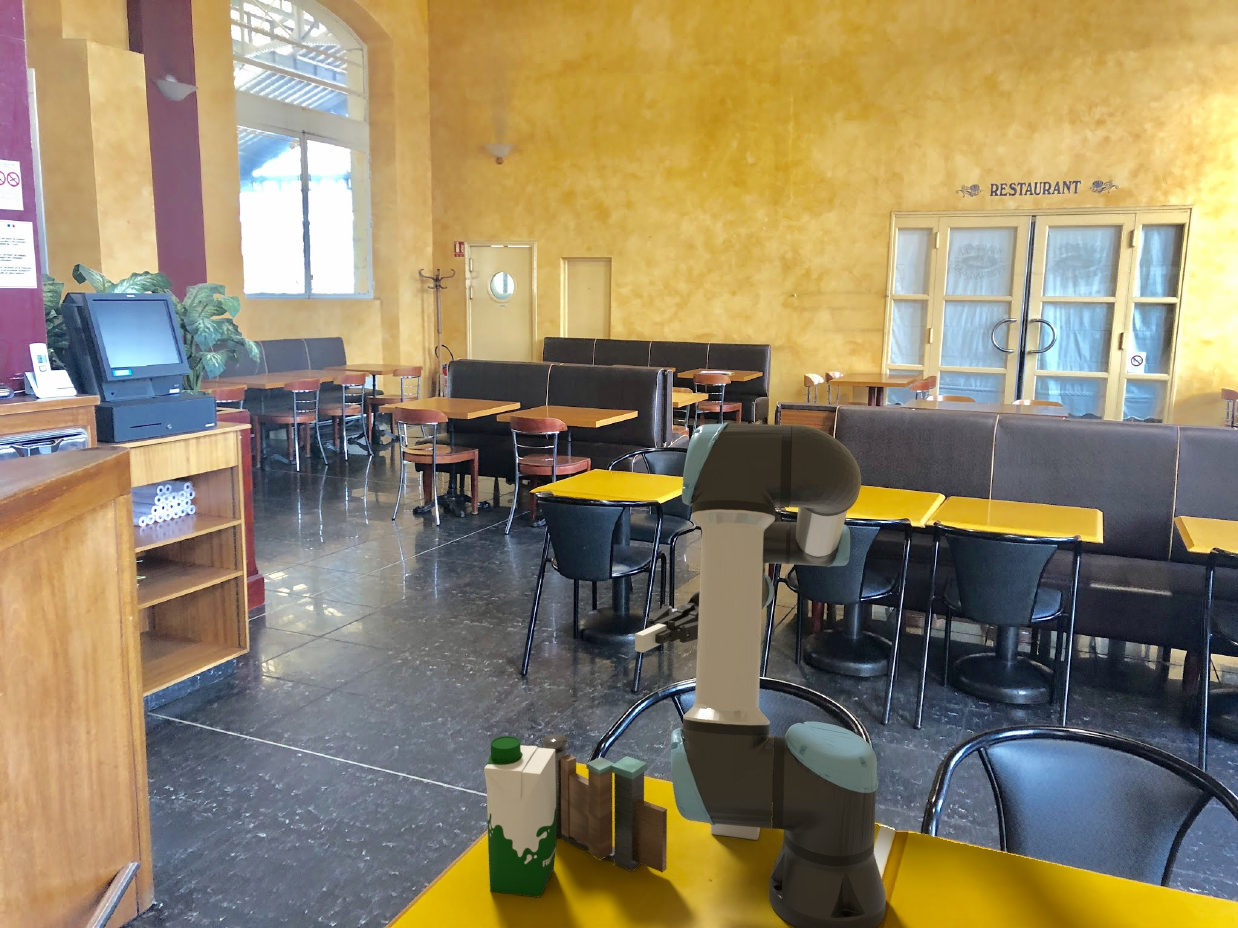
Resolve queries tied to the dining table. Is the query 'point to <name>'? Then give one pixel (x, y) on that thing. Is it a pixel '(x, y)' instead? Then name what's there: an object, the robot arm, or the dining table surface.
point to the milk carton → (520, 816)
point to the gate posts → (623, 814)
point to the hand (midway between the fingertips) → (639, 643)
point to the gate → (587, 804)
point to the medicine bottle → (736, 831)
